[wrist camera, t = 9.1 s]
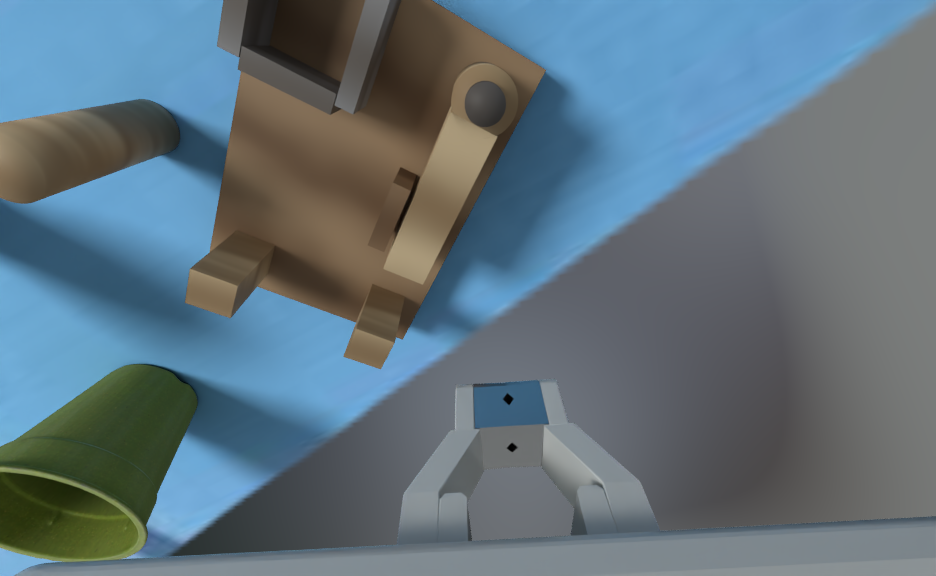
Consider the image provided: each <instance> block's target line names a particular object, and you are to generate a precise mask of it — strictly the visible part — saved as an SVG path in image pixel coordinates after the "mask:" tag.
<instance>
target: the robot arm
mask: <svg viewBox="0 0 936 576" xmlns="http://www.w3.org/2000/svg"><path fill="white" fill-rule="evenodd" d="M455 403H456V406H455V430H451V431H450V432H449V433H448V434H447V436H446V437H445V438H444V440H443V441H442V443H441V444H440V445H439V446H438V448H437V449H436V451H435V452H434V453H433V455H432V456H431V457H430V459H429V460H428V461H427V463H426V464H425V465H424V467H423V468H422V470H421V471H420V472H419V474H418V475H417V476H416V478H415V479H414V481H413V482H412V483H411V485H410V486H409V487H408V489H407V490H406V491H405V493H404V494H403V502H402V509H401V517H400V524H399V532H398V539H397V545H386V546H368V547H349V548H329V549H311V550H291V551H272V552H253V553H233V554H214V555H195V556H176V557H156V558H137V559H118V560H99V561H79V562H55V563H44V564H39V565H35V566H32V567H29V568H27V569H25V570H23V571H21V572H19V573H18V574H16V575H14V576H936V516H932V517H913V518H894V519H875V520H858V521H838V522H821V523H820V522H819V523H801V524H782V525H762V526H744V527H725V528H706V529H687V530H668V531H660V529H659V527H658V524H657V522H656V519H655V517H654V514H653V512H652V509H651V507H650V505H649V502H648V500H647V497H646V495H645V492H644V490H643V487H642V485H641V483H640V481H639V480H638V479H637V478H636V477H634V476H633V475H632V474H631V473H630V472H629V471H628V470H626V469H625V468H624V467H623V466H622V465H621V464H620V463H619V462H618V461H616V460H615V459H614V458H613V457H612V456H611V455H609V453H607V452H606V451H605V450H604V449H603V448H602V447H601V446H599V445H598V444H597V443H596V442H595V441H594V440H593V439H591V438H590V437H589V436H588V435H587V434H586V433H585V432H584V431H582V430H581V429H580V428H579V427H578V426H577V425H576V424H575V423H569V421H568V417H567V414H566V410H565V407H564V404H563V400H562V397H561V394H560V390H559V387H558V383H557V381H556V380H555V379H546V380H531V381H519V382H506V383H485V384H473V385H472V384H467V385H457V386H456V401H455ZM532 466H533V467H536V466H542V469H543V470H544V471H545V472H546V474H547V475H548V476H549V477H550V479H551V480H552V481H553V482H554V484H555V485H556V486H557V487H558V489H559V490H560V491H561V492H562V494H563V495H564V496H565V498H566V499H567V500H568V501H569V502H570V504H571V505H572V506H573V508H574V516H573V522H572V529H571V536H555V537H536V538H518V539H499V540H481V541H472V535H471V527H470V519H469V511H468V501H469V499H470V497H471V495H472V493H473V491H474V489H475V488H476V486H477V484H478V482H479V480H480V478H481V476H482V474H483V472H484V470H485V469H497V468H509V467H532Z"/></svg>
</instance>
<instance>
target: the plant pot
mask: <svg viewBox="0 0 936 576" xmlns="http://www.w3.org/2000/svg"><path fill="white" fill-rule="evenodd" d="M197 404H198V401H197V397H196V394H195V392H194V390H193V389H192V388H191V387H190V386H189V385H188V384H185V383H182V382H181V381H180V380H179V379H177V378H176V376H175V375H174V374H173V373H171V372H169V371H167V370H164V369H161V368H158V367H154V366H150V365H142V364H133V365H126V366H123V367H121V368H119V369H117V370H115V371H113V372H111V373H110V374H108V375H107V376H105V377H104V378H103V379H101V380H100V381H98V382H97V383H96V384H94V385H93V386H91V387H90V388H89V389H87V390H86V391H84V392H83V393H81V394H80V395H79V396H77V397H76V398H74V399H73V400H72V401H70V402H69V403H67V404H66V405H64V406H63V407H62V408H60V409H59V410H57V411H56V412H54V413H53V414H52V415H50V416H49V417H47V418H46V419H45V420H43V421H42V422H40V423H39V424H37V425H36V426H35V427H33V428H32V429H30V430H29V431H27V432H26V433H25V434H23V435H22V436H20V437H19V438H17V439H16V440H14V441H12V442H9V443H7V444H5V445H3V446H1V447H0V548H3V549H6V550H9V551H12V552H16V553H19V554H24V555H28V556H32V557H36V558H44V559H49V560H52V561H62V562H79V561H99V560H118V559H122V558H126V557H129V556H131V555H133V554H135V553H136V552H138V551H139V550H140V549H141V548H142V547H143V546H144V545H145V543H146V540H147V537H148V531H147V527H146V524H147V522H148V519H149V517H150V515H151V513H152V510H153V508H154V506H155V504H156V500H157V493H158V491H159V488H160V486H161V484H162V482H163V480H164V477H165V475H166V473H167V471H168V469H169V467H170V465H171V462H172V460H173V458H174V456H175V454H176V452H177V449H178V447H179V445H180V443H181V441H182V439H183V437H184V435H185V433H186V430H187V428H188V426H189V424H190V422H191V419H192V417H193V415H194V413H195V410H196V408H197Z"/></svg>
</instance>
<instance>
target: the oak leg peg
mask: <svg viewBox="0 0 936 576" xmlns="http://www.w3.org/2000/svg"><path fill="white" fill-rule="evenodd" d="M179 141H180V132H179V128H178V125H177V123H176V121H175V120H174V118H173V117H172V116H171V114H170V113H169V112H168V111H167V110H166V109H164V108H163V107H162V106H160V105H159V104H157V103H155V102H153V101H150V100H145V99H138V100H132V101H126V102H121V103H115V104H109V105H103V106H97V107H91V108H85V109H80V110H74V111H68V112H62V113H56V114H50V115H44V116H38V117H33V118H27V119H21V120H15V121H9V122H3V123H0V198H2V199H5V200H7V201H11V202H15V203H32V202H35V201H38V200H41V199H43V198H46V197H49V196H52V195H54V194H57V193H60V192H62V191H65V190H68V189H71V188H73V187H76V186H79V185H81V184H84V183H87V182H89V181H92V180H95V179H98V178H100V177H103V176H106V175H108V174H111V173H114V172H117V171H119V170H122V169H125V168H127V167H130V166H133V165H136V164H138V163H141V162H144V161H146V160H149V159H152V158H155V157H157V156H160V155H163V154H165V153H168V152H171V151H173V150H174V149H175V148H176V147H177V146H178V144H179Z"/></svg>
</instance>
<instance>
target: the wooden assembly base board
mask: <svg viewBox="0 0 936 576" xmlns="http://www.w3.org/2000/svg"><path fill="white" fill-rule="evenodd" d="M217 46H218V47H220V48H222V49H223V50H225V51H227V52H229V53H231V54H233V55H235V56H237V57H240V59H239V65H238V70H240V71H241V75H240V81H239V86H238V92H237V98H236V104H235V109H234V115H233V121H232V127H231V132H230V138H229V144H228V150H227V155H226V161H225V167H224V173H223V178H222V184H221V190H220V196H219V201H218V207H217V213H216V219H215V224H214V230H213V236H212V242H211V247H210V253H208V254H207V255H206V256H205V257H204V258H202V259H201V260H200V261H199V262H198V263H196V264H195V265H194V266H193V267H192V268H190V272H189V279H188V286H187V293H186V299H185V303H187V304H190V305H193V306H196V307H199V308H202V309H205V310H208V311H211V312H214V313H217V314H220V315H223V316H225V317H228V318H231V317H232V316H233V315H234V313H235V312H236V311H237V310H238V309H239V307H240V306H241V305H242V304H243V303H244V301H245V300H246V299H247V298H248V297H249V296H250V294H251V293H252V292H253V291H254V290H255V288H256V287H260V288H263V289H266V290H268V291H271V292H274V293H277V294H279V295H282V296H285V297H288V298H290V299H293V300H296V301H299V302H301V303H304V304H307V305H310V306H312V307H315V308H318V309H320V310H323V311H326V312H329V313H331V314H334V315H337V316H340V317H342V318H345V319H348V320H351V321H353V322H356V325H355V327H354V330H353V333H352V335H351V338H350V340H349V343H348V346H347V348H346V351H345V354H344V356H343V357H346V358H349V359H352V360H355V361H358V362H361V363H364V364H367V365H370V366H373V367H376V368H379V369H381V368H382V366H383V364H384V362H385V360H386V358H387V356H388V354H389V352H390V351H391V349H392V347H393V345H394V343H395V339H396V337H397V338H400V339H403V338H404V336H405V334H406V332H407V330H408V328H409V327H410V325H411V323H412V321H413V319H414V317H415V315H416V313H417V311H418V310H419V308H420V306H421V304H422V302H423V300H424V298H425V296H426V295H427V293H428V291H429V289H430V287H431V285H432V283H433V281H434V280H435V278H436V276H437V274H438V272H439V270H440V268H441V266H442V265H443V263H444V261H445V259H446V257H447V255H448V253H449V251H450V249H451V248H452V246H453V244H454V242H455V240H456V238H457V236H458V234H459V233H460V231H461V229H462V227H463V225H464V223H465V221H466V219H467V218H468V216H469V214H470V212H471V210H472V208H473V206H474V204H475V203H476V201H477V199H478V197H479V195H480V193H481V191H482V189H483V187H484V186H485V184H486V182H487V180H488V178H489V176H490V174H491V172H492V171H493V169H494V167H495V165H496V163H497V161H498V159H499V157H500V156H501V154H502V152H503V150H504V148H505V146H506V144H507V142H508V141H509V139H510V137H511V135H512V133H513V131H514V129H515V127H516V125H517V124H518V122H519V120H520V118H521V116H522V114H523V112H524V110H525V109H526V107H527V105H528V103H529V101H530V99H531V97H532V95H533V94H534V92H535V90H536V88H537V86H538V84H539V82H540V80H541V79H542V77H543V75H544V73H545V71H546V70H545V69H543V68H542V67H540V66H538V65H537V64H535V63H534V62H532V61H530V60H529V59H527V58H525V57H524V56H522V55H520V54H519V53H517V52H516V51H514V50H512V49H511V48H509V47H507V46H506V45H504V44H502V43H501V42H499V41H498V40H496V39H494V38H493V37H491V36H489V35H488V34H486V33H485V32H483V31H481V30H480V29H478V28H476V27H475V26H473V25H471V24H470V23H468V22H467V21H465V20H463V19H462V18H460V17H458V16H457V15H455V14H453V13H452V12H450V11H449V10H447V9H445V8H444V7H442V6H440V5H439V4H437V3H435V2H434V1H432V0H223V7H222V14H221V21H220V28H219V35H218V42H217ZM475 62H488V63H491V64H493V65H495V66H497V67H499V68H500V69H502V70H503V71H505V72H506V73H507V74H508V75H509V76H510V77H511V79H512V80H513V82H514V84H515V86H516V89H517V94H518V108H517V112H516V115H515V117H514V120H513V121H512V123H511V124H510V126H509V127H508V128H507V129H506V130H505V131H504V132H502V133H501V134H499V135H497V139H496V141H495V143H494V145H493V147H492V149H491V151H490V153H489V155H488V157H487V159H486V161H485V163H484V165H483V167H482V169H481V171H480V173H479V175H478V177H477V179H476V180H475V182H474V184H473V186H472V188H471V190H470V192H469V194H468V196H467V198H466V200H465V202H464V204H463V206H462V208H461V210H460V212H459V214H458V216H457V218H456V220H455V222H454V224H453V226H452V228H451V230H450V232H449V234H448V236H447V238H446V240H445V242H444V244H443V246H442V248H441V250H440V252H439V254H438V256H437V258H436V260H435V262H434V264H433V266H432V268H431V270H430V272H429V274H428V276H427V278H426V280H425V281H424V283H423V285H422V284H420V283H417V282H415V281H412V280H410V279H407V278H405V277H402V276H400V275H397V274H395V273H392V272H390V271H387V270H385V269H383V268H384V265H385V262H386V260H387V257H388V254H389V251H390V248H391V245H392V242H393V240H394V238H395V235H396V233H397V231H398V228H399V226H400V224H401V221H402V219H403V217H404V214H405V212H406V210H407V207H408V205H409V203H410V200H411V198H412V196H413V193H414V191H415V189H416V186H417V184H418V182H419V179H420V177H421V175H422V172H423V170H424V167H425V165H426V163H427V160H428V158H429V156H430V153H431V151H432V149H433V146H434V144H435V142H436V139H437V137H438V135H439V132H440V130H441V128H442V125H443V123H444V121H445V118H446V116H447V114H448V111H449V109H450V107H451V97H452V91H453V86H454V83H455V80H456V78H457V76H458V75H459V73H460V72H461V71H462V70H463V69H464V68H465V67H467V66H468V65H470V64H472V63H475Z"/></svg>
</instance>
